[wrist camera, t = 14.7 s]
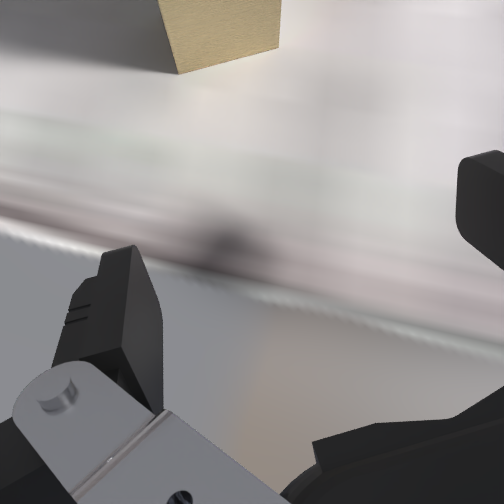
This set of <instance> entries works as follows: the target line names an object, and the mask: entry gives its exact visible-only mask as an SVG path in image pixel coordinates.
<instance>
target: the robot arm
mask: <svg viewBox="0 0 504 504" xmlns="http://www.w3.org/2000/svg"><path fill="white" fill-rule="evenodd" d="M456 224H457V227H458V230H459V232H460V234H461V236H462V237H463V238H464V239H465V240H466V241H467V242H468V243H470V244H471V245H472V246H473V247H475V248H476V249H477V250H478V251H480V252H481V253H482V254H483V255H485V256H486V257H487V258H488V259H490V260H491V261H492V262H494V263H495V264H496V265H497V266H499V267H500V268H501V269H502V270H504V153H503V152H501V151H498V150H493V151H489V152H485V153H481V154H478V155H474V156H470V157H466V158H464V159H462V160H461V162H460V164H459V167H458V177H457V196H456ZM68 310H69V313H67V316H66V319H65V326H63V329H62V333H61V336H60V340H59V343H58V346H57V350H56V353H55V357H54V360H53V363H52V367H51V369H49V370H47V371H45V372H44V373H42V374H40V375H39V376H38V377H36V378H35V379H34V380H33V381H31V382H30V383H29V384H28V385H27V386H26V387H25V389H24V390H23V391H22V392H21V394H20V395H19V397H18V398H17V400H16V402H15V404H14V407H13V414H12V417H11V418H9V419H7V420H6V421H4V422H2V423H0V504H504V386H503V387H502V388H500V389H498V390H497V391H495V392H494V393H492V394H490V395H489V396H487V397H486V398H484V399H483V400H481V401H479V402H478V403H476V404H475V405H473V406H471V407H470V408H468V409H467V410H465V411H463V412H462V413H460V414H459V415H457V416H455V417H453V418H449V419H442V420H424V421H408V422H407V421H406V422H389V423H375V424H371V425H368V426H365V427H361V428H358V429H354V430H351V431H348V432H344V433H341V434H337V435H334V436H331V437H327V438H324V439H320V440H317V441H314V442H312V445H313V449H314V454H315V459H316V464H315V465H313V466H312V467H310V468H309V469H307V470H306V471H304V472H303V473H302V474H300V475H299V476H298V477H297V478H296V479H294V480H293V481H292V482H291V483H290V484H289V485H288V486H287V487H286V488H285V489H284V490H283V491H282V492H281V493H280V494H278V493H276V492H275V491H274V490H272V489H271V488H270V487H268V486H267V485H266V484H265V483H263V482H262V481H261V480H260V479H258V478H257V477H256V476H254V475H253V474H252V473H250V472H249V471H248V470H247V469H245V468H244V467H243V466H241V465H240V464H239V463H238V462H236V461H235V460H234V459H232V458H231V457H230V456H228V455H227V454H226V453H225V452H223V451H222V450H221V449H219V448H218V447H217V446H215V445H214V444H213V443H212V442H210V441H209V440H208V439H206V438H205V437H204V436H202V435H201V434H200V433H199V432H197V431H196V430H195V429H193V428H192V427H191V426H190V425H188V424H187V423H186V422H185V421H183V420H182V419H180V418H179V417H178V416H177V415H175V414H174V413H172V412H171V411H169V410H166V409H163V320H162V313H161V308H160V304H159V301H158V298H157V295H156V293H155V290H154V288H153V285H152V283H151V280H150V277H149V275H148V272H147V270H146V267H145V265H144V262H143V260H142V257H141V255H140V252H139V250H138V248H137V247H136V246H135V245H131V246H127V247H123V248H120V249H116V250H112V251H108V252H105V253H103V254H102V256H101V261H100V266H99V270H98V274H97V276H95V277H91V278H88V279H85V280H84V282H83V283H82V284H81V285H80V286H79V288H78V289H77V290H76V291H75V292H74V294H73V295H72V299H71V302H70V306H69V309H68Z"/></svg>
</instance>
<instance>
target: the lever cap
mask: <svg viewBox="0 0 504 504" xmlns="http://www.w3.org/2000/svg"><path fill="white" fill-rule="evenodd" d="M281 1H282V0H157V2H158V6H159V9H160V13H161V16H162V20H163V23H164V26H165V30H166V33H167V36H168V40H169V43H170V47H171V50H172V53H173V57H174V60H175V63H176V67H177V70H178V73H179V74H183V73H186V72H190V71H194V70H197V69H201V68H205V67H209V66H212V65H216V64H220V63H223V62H227V61H231V60H235V59H238V58H242V57H246V56H249V55H253V54H257V53H261V52H264V51H268V50H272V49H275V48H279V33H280V17H281Z"/></svg>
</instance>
